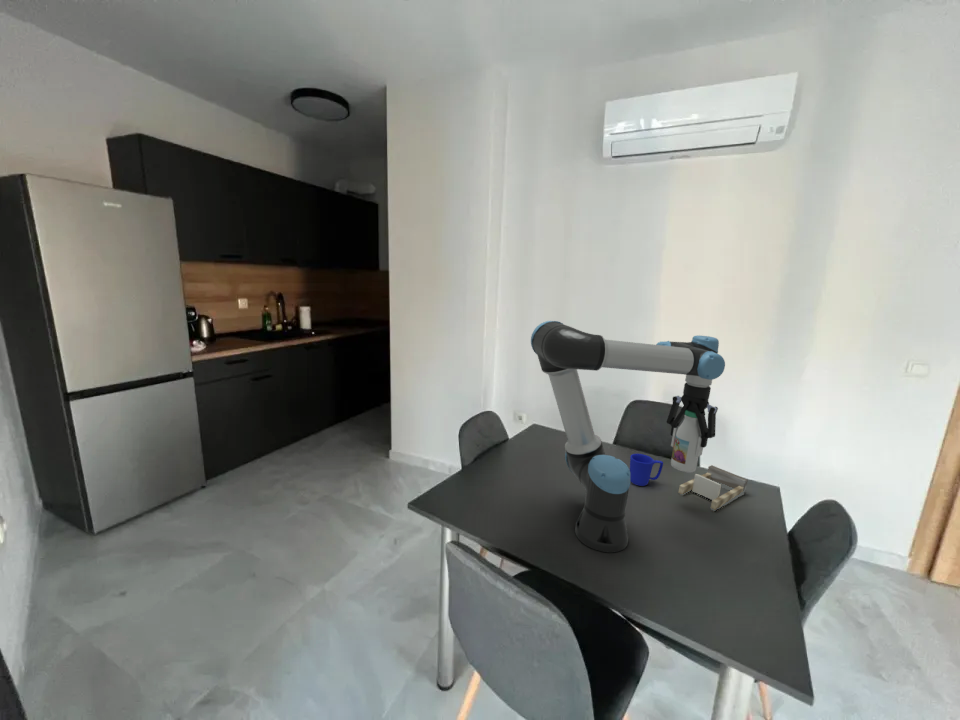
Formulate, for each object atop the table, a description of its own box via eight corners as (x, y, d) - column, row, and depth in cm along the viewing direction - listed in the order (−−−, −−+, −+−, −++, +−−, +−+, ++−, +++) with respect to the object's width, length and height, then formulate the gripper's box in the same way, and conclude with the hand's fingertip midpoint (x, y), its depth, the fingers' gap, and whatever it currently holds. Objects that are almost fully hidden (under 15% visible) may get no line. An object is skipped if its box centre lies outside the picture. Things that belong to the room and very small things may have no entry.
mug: (663, 489, 152) (668, 464, 150) (631, 487, 152) (635, 462, 150) (655, 478, 160) (658, 454, 158) (624, 476, 160) (627, 452, 158)
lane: (714, 511, 139) (717, 495, 137) (678, 494, 149) (680, 479, 148) (744, 494, 151) (747, 479, 150) (709, 479, 162) (711, 465, 160)
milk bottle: (690, 463, 140) (700, 408, 136) (699, 474, 133) (710, 416, 129) (667, 461, 141) (676, 406, 137) (675, 471, 134) (685, 413, 129)
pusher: (716, 503, 143) (720, 485, 142) (691, 491, 150) (695, 474, 149) (722, 500, 146) (725, 482, 144) (697, 489, 152) (700, 471, 151)
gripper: (737, 391, 125) (723, 460, 130) (673, 375, 141) (663, 437, 146) (725, 394, 121) (711, 465, 125) (661, 377, 137) (651, 441, 142)
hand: (686, 450), depth 136 cm, fingers closed on milk bottle, 8 cm apart
